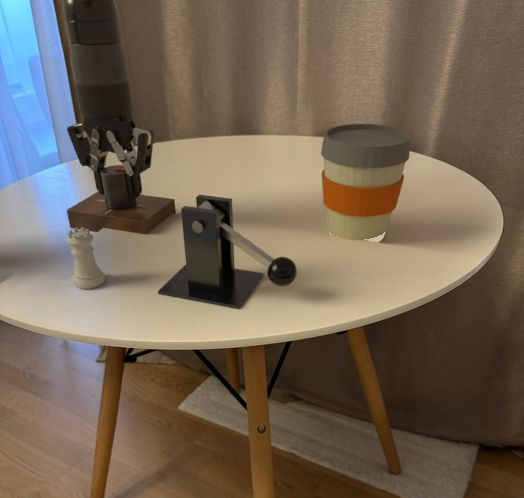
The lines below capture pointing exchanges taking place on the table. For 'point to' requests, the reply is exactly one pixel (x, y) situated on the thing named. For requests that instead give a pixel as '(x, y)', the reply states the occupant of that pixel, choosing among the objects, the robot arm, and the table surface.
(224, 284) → the black lever stand
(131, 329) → the table surface
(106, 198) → the knob
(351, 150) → the reusable coffee cup
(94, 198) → the wooden knob base
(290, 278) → the ball knob lever
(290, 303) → the table surface
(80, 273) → the rook chess piece
